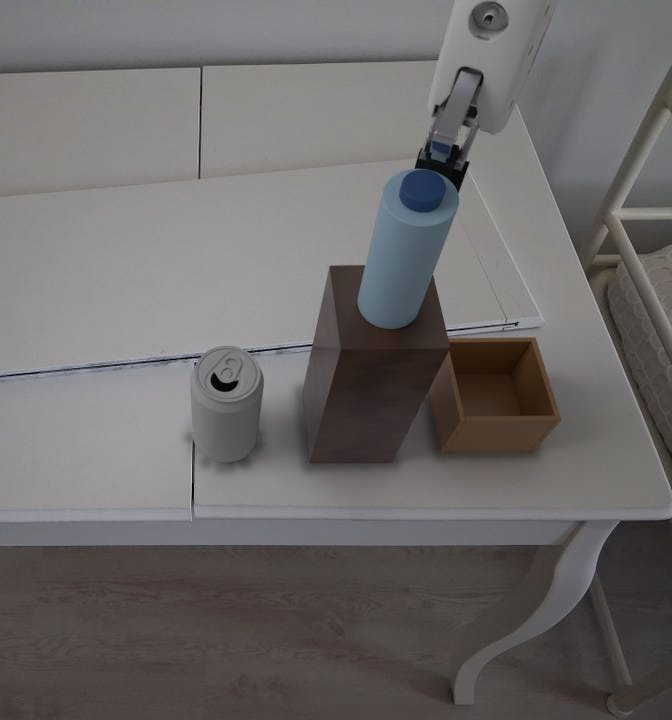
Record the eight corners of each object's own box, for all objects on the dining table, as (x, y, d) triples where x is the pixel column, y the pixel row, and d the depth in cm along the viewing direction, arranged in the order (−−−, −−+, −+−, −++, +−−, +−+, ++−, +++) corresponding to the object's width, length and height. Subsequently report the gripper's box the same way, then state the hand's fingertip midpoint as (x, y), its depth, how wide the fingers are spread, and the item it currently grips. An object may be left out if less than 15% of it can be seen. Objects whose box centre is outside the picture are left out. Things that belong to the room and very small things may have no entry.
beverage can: (182, 452, 70) (178, 391, 60) (206, 399, 74) (206, 332, 64) (244, 475, 69) (250, 415, 59) (265, 419, 72) (275, 354, 62)
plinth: (380, 391, 74) (430, 263, 57) (392, 462, 69) (450, 348, 53) (302, 392, 74) (329, 265, 57) (309, 463, 70) (340, 349, 53)
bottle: (424, 286, 55) (469, 165, 44) (412, 336, 53) (456, 222, 42) (365, 272, 56) (393, 150, 45) (350, 320, 54) (377, 205, 43)
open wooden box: (511, 372, 75) (535, 336, 69) (534, 451, 70) (561, 420, 64) (424, 373, 75) (441, 338, 69) (440, 452, 70) (460, 421, 64)
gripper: (573, 5, 33) (467, 257, 47) (641, -151, 41) (533, 104, 55) (413, -31, 35) (358, 220, 49) (508, -173, 43) (437, 78, 57)
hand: (451, 158), depth 52 cm, fingers open, 9 cm apart
